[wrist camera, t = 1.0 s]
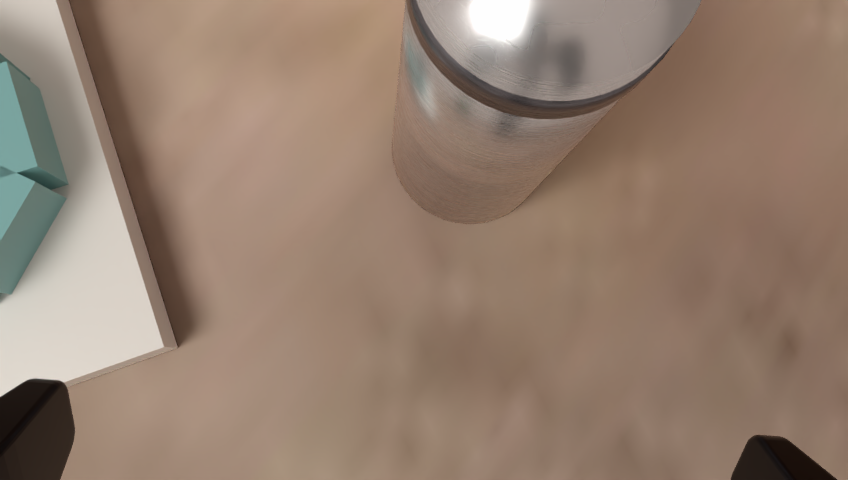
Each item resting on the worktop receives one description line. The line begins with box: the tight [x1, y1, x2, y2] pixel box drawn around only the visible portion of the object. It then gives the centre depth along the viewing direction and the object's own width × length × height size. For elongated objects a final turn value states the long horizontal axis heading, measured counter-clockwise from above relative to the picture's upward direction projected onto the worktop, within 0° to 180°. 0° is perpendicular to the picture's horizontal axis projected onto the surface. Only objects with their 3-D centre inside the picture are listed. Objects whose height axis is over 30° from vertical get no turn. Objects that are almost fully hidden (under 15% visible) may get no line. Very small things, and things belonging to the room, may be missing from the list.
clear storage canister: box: [392, 0, 701, 224], centre depth 18 cm, size 5×5×12 cm
